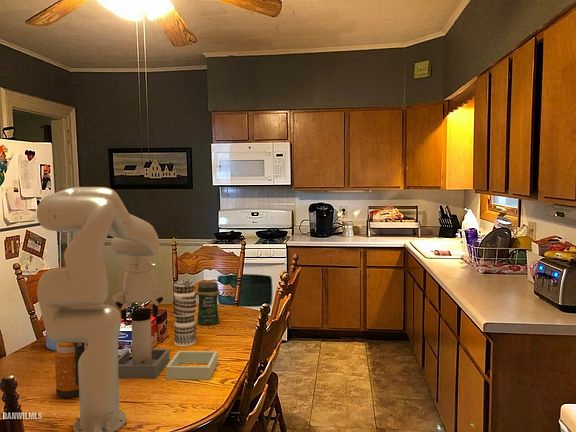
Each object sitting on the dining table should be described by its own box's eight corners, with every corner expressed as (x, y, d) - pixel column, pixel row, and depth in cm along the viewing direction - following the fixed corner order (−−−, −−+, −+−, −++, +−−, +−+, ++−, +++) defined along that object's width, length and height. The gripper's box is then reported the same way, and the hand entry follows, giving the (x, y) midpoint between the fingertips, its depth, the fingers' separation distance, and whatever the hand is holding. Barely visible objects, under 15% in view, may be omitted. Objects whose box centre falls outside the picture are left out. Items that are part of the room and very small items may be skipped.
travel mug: (147, 371, 147) (145, 312, 146) (128, 369, 149) (127, 311, 147) (156, 363, 153) (154, 307, 152) (138, 362, 155) (137, 306, 153)
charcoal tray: (156, 378, 143) (155, 366, 143) (110, 377, 144) (110, 365, 143) (169, 360, 158) (169, 349, 158) (128, 359, 159) (128, 348, 158)
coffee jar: (197, 326, 197) (196, 284, 196) (197, 320, 205) (197, 281, 203) (219, 325, 198) (218, 284, 197) (219, 319, 206) (218, 280, 205)
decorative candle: (200, 338, 180) (199, 278, 179) (192, 346, 171) (191, 283, 170) (178, 338, 181) (177, 277, 180) (170, 346, 172) (168, 282, 170)
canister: (80, 382, 140) (78, 320, 139) (98, 393, 133) (96, 327, 132) (51, 392, 133) (48, 327, 132) (67, 404, 126) (65, 335, 125)
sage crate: (209, 379, 142) (209, 367, 142) (166, 379, 143) (166, 367, 142) (217, 362, 156) (217, 351, 156) (178, 362, 156) (178, 350, 156)
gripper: (162, 264, 156) (163, 313, 157) (110, 268, 148) (111, 319, 149) (167, 267, 149) (168, 318, 150) (113, 272, 141) (114, 325, 142)
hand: (139, 318), depth 149 cm, fingers open, 9 cm apart
